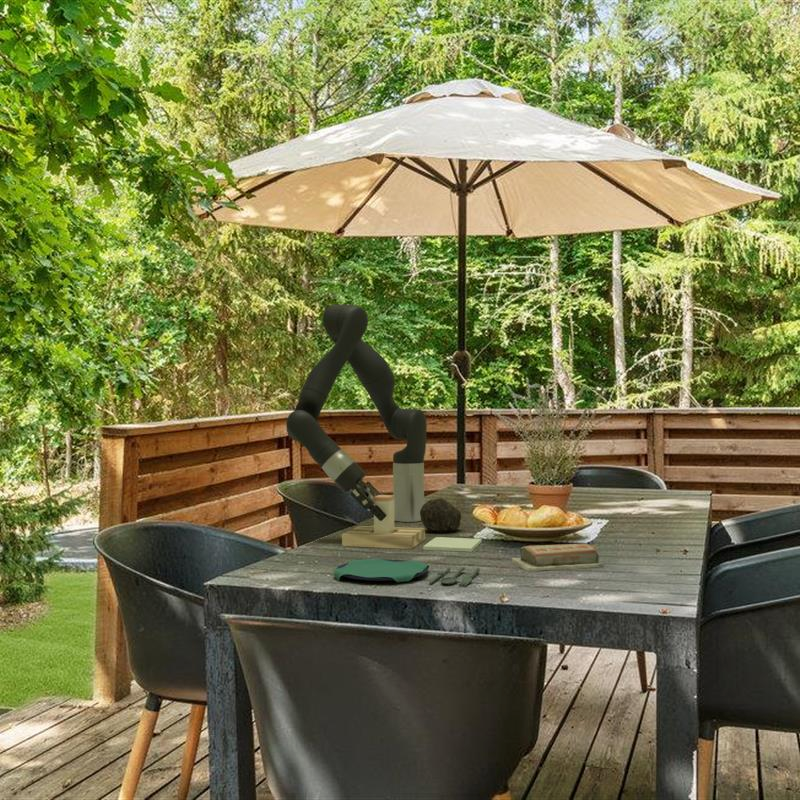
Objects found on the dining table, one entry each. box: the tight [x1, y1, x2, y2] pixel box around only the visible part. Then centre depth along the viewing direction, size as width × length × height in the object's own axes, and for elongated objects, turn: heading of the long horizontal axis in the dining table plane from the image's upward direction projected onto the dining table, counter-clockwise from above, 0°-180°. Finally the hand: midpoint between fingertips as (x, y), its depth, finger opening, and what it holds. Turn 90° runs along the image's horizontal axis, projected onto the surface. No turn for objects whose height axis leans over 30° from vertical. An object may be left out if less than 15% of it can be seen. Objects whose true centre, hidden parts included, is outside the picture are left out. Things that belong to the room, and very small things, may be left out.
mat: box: [422, 536, 482, 553], centre depth 231 cm, size 14×12×1 cm
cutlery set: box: [333, 558, 480, 586], centre depth 194 cm, size 20×30×2 cm, turn 72°
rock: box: [420, 497, 462, 533], centre depth 254 cm, size 10×11×10 cm
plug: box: [373, 494, 395, 534], centre depth 236 cm, size 5×4×12 cm
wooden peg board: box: [341, 525, 426, 550], centre depth 236 cm, size 14×18×3 cm
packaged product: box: [511, 543, 605, 573], centre depth 206 cm, size 18×5×10 cm
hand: (387, 516), depth 236 cm, fingers open, 8 cm apart
